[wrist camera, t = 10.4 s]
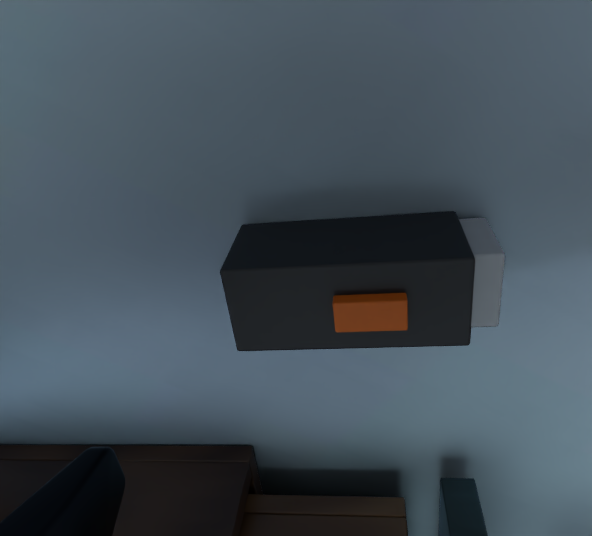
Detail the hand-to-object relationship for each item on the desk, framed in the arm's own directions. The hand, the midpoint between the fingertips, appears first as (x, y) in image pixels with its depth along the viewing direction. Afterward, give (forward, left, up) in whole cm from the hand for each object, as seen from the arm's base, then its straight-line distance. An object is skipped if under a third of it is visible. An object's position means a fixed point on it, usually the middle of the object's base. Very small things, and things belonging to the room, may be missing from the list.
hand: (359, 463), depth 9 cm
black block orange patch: (0, 0, -8) cm, 8 cm away
